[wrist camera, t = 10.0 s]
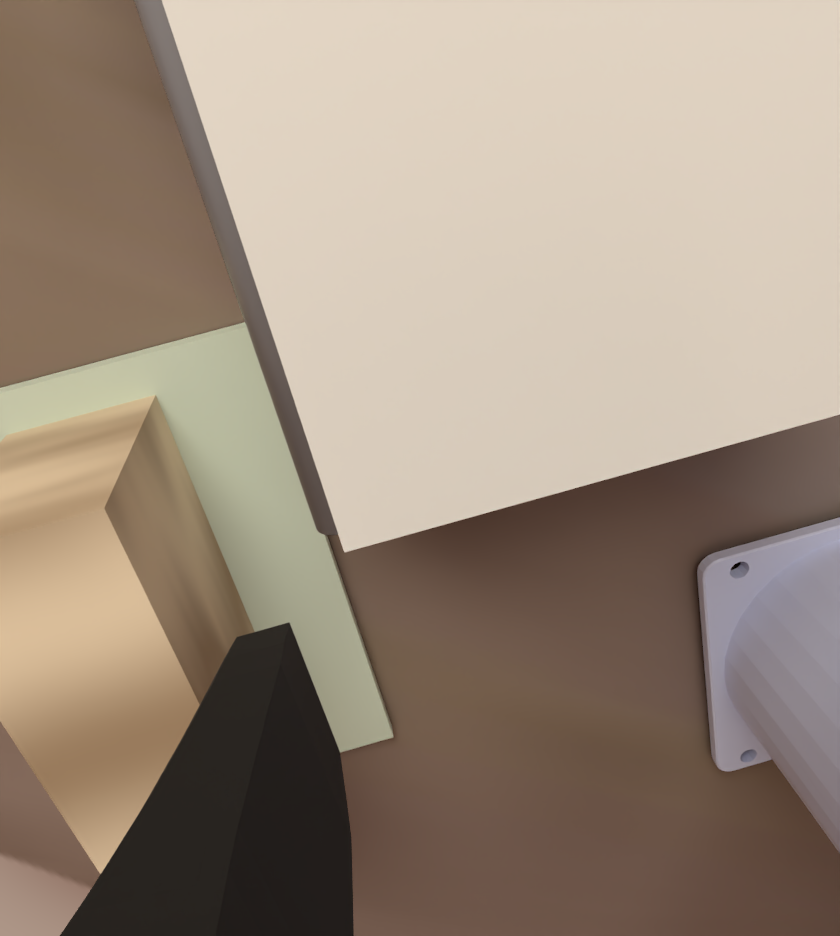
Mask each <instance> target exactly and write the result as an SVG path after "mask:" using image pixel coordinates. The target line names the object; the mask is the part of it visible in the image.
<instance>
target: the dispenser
mask: <svg viewBox="0 0 840 936" xmlns="http://www.w3.org/2000/svg"><path fill="white" fill-rule="evenodd" d="M134 2H135V5H136V8H137V10H138V13H139V16H140V19H141V22H142V25H143V28H144V31H145V34H146V37H147V39H148V42H149V45H150V48H151V51H152V54H153V57H154V60H155V63H156V66H157V68H158V71H159V74H160V77H161V80H162V83H163V86H164V89H165V92H166V95H167V97H168V100H169V103H170V106H171V109H172V112H173V115H174V118H175V121H176V124H177V126H178V129H179V132H180V135H181V138H182V141H183V144H184V147H185V150H186V153H187V155H188V158H189V161H190V164H191V167H192V170H193V173H194V176H195V179H196V182H197V184H198V187H199V190H200V193H201V196H202V199H203V202H204V205H205V208H206V211H207V213H208V216H209V219H210V222H211V225H212V228H213V231H214V234H215V237H216V240H217V242H218V245H219V248H220V251H221V254H222V257H223V260H224V263H225V266H226V269H227V271H228V274H229V277H230V280H231V283H232V286H233V289H234V292H235V295H236V298H237V300H238V303H239V306H240V309H241V312H242V315H243V318H244V321H245V324H246V327H247V329H248V332H249V335H250V338H251V341H252V344H253V347H254V350H255V353H256V356H257V358H258V361H259V364H260V367H261V370H262V373H263V376H264V379H265V382H266V384H267V387H268V390H269V393H270V396H271V399H272V402H273V405H274V408H275V411H276V413H277V416H278V419H279V422H280V425H281V428H282V431H283V434H284V437H285V440H286V442H287V445H288V448H289V451H290V454H291V457H292V460H293V463H294V466H295V469H296V471H297V474H298V477H299V480H300V483H301V486H302V489H303V492H304V495H305V498H306V500H307V503H308V506H309V509H310V512H311V515H312V518H313V521H314V524H315V527H316V529H317V531H318V532H319V533H321V534H324V535H337V534H338V535H339V538H340V541H341V544H342V547H343V550H344V552H348V551H352V550H355V549H359V548H362V547H366V546H369V545H373V544H377V543H380V542H384V541H387V540H391V539H395V538H398V537H402V536H405V535H409V534H413V533H416V532H420V531H423V530H427V529H431V528H434V527H438V526H441V525H445V524H448V523H452V522H456V521H459V520H463V519H466V518H470V517H474V516H477V515H481V514H484V513H488V512H492V511H495V510H499V509H502V508H506V507H509V506H513V505H517V504H520V503H524V502H527V501H531V500H535V499H538V498H542V497H545V496H549V495H553V494H556V493H560V492H563V491H567V490H570V489H574V488H578V487H581V486H585V485H588V484H592V483H596V482H599V481H603V480H606V479H610V478H614V477H617V476H621V475H624V474H628V473H632V472H635V471H639V470H642V469H646V468H649V467H653V466H657V465H660V464H664V463H667V462H671V461H675V460H678V459H682V458H685V457H689V456H693V455H696V454H700V453H703V452H707V451H710V450H714V449H718V448H721V447H725V446H728V445H732V444H736V443H739V442H743V441H746V440H750V439H754V438H757V437H761V436H764V435H768V434H771V433H775V432H779V431H782V430H786V429H789V428H793V427H797V426H800V425H804V424H807V423H811V422H815V421H818V420H822V419H825V418H829V417H832V416H836V415H840V0H134Z"/></svg>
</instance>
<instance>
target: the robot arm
mask: <svg viewBox="0 0 840 936" xmlns="http://www.w3.org/2000/svg"><path fill="white" fill-rule="evenodd" d="M738 562H741V564H740V565H739V566H738V567H737V568H736V569H734V570H731V568H732V567H733V565H734V564H736V563H738ZM697 579H698V591H699V604H700V616H701V629H702V641H703V654H704V666H705V679H706V692H707V704H708V717H709V729H710V742H711V754H712V758H713V761H714V762H715V764H716V766H717V767H718V768H719V769H720V770H722V771H734V770H738V769H741V768H745V767H748V766H752V765H755V764H758V763H762V762H765V761H769V760H773V761H774V763H775V764H776V765H777V767H778V768H779V770H780V771H781V772H782V774H783V775H784V777H785V778H786V779H787V781H788V782H789V783H790V785H791V786H792V788H793V789H794V790H795V792H796V793H797V795H798V796H799V797H800V799H801V800H802V802H803V803H804V804H805V806H806V807H807V809H808V810H809V811H810V813H811V814H812V816H813V817H814V818H815V820H816V821H817V823H818V824H819V825H820V827H821V828H822V829H823V831H824V832H825V834H826V835H827V836H828V838H829V839H830V841H831V842H832V843H833V845H834V846H835V848H836V849H837V850H838V852H839V853H840V517H839V518H835V519H832V520H828V521H825V522H821V523H818V524H814V525H811V526H807V527H804V528H800V529H796V530H793V531H789V532H786V533H782V534H779V535H775V536H772V537H768V538H765V539H761V540H758V541H754V542H750V543H747V544H743V545H740V546H736V547H733V548H729V549H726V550H722V551H719V552H715V553H712V554H710V555H708V556H706V557H705V558H704V559H703V560H702V561H701V563H700V564H699V566H698V570H697ZM60 936H354V935H353V888H352V849H351V832H350V824H349V816H348V808H347V800H346V793H345V786H344V779H343V772H342V765H341V757H340V751H339V748H338V746H337V743H336V741H335V738H334V735H333V733H332V730H331V728H330V725H329V723H328V720H327V717H326V715H325V712H324V710H323V707H322V705H321V702H320V699H319V697H318V694H317V692H316V689H315V687H314V684H313V682H312V679H311V676H310V674H309V671H308V669H307V666H306V664H305V661H304V658H303V656H302V653H301V651H300V648H299V646H298V643H297V640H296V638H295V635H294V633H293V630H292V628H291V625H290V622H289V623H285V624H282V625H278V626H274V627H271V628H267V629H264V630H260V631H257V632H253V633H249V634H246V635H242V636H239V637H236V639H235V641H234V642H233V644H232V646H231V647H230V649H229V651H228V653H227V655H226V656H225V658H224V660H223V662H222V664H221V666H220V668H219V669H218V671H217V673H216V675H215V677H214V679H213V681H212V683H211V685H210V687H209V689H208V690H207V692H206V694H205V696H204V698H203V700H202V702H201V704H200V706H199V707H198V709H197V711H196V713H195V715H194V717H193V719H192V720H191V722H190V724H189V726H188V728H187V730H186V732H185V733H184V735H183V737H182V739H181V741H180V743H179V744H178V746H177V748H176V750H175V751H174V753H173V755H172V757H171V758H170V760H169V762H168V764H167V765H166V767H165V769H164V771H163V773H162V774H161V776H160V778H159V780H158V781H157V783H156V785H155V787H154V788H153V790H152V792H151V794H150V795H149V797H148V799H147V801H146V802H145V804H144V806H143V807H142V809H141V811H140V812H139V814H138V816H137V817H136V819H135V820H134V822H133V824H132V825H131V827H130V828H129V830H128V832H127V833H126V835H125V836H124V838H123V840H122V841H121V843H120V844H119V846H118V848H117V849H116V851H115V852H114V854H113V856H112V857H111V859H110V860H109V862H108V863H107V865H106V867H105V868H104V870H103V871H102V873H101V875H100V876H99V878H98V879H97V881H96V883H95V884H94V886H93V887H92V889H91V890H90V892H89V894H88V895H87V897H86V898H85V900H84V901H83V903H82V904H81V906H80V907H79V908H78V910H77V912H76V913H75V915H74V916H73V917H72V919H71V920H70V922H69V923H68V925H67V926H66V928H65V929H64V931H63V932H62V934H61V935H60Z"/></svg>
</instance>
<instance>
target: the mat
mask: <svg viewBox="0 0 840 936" xmlns="http://www.w3.org/2000/svg"><path fill="white" fill-rule="evenodd" d="M153 395H156V397H157V399H158V402H159V404H160V406H161V409H162V411H163V414H164V416H165V418H166V421H167V423H168V425H169V428H170V430H171V433H172V435H173V437H174V440H175V442H176V445H177V447H178V449H179V452H180V454H181V457H182V459H183V461H184V464H185V466H186V469H187V471H188V473H189V476H190V478H191V481H192V483H193V485H194V488H195V490H196V493H197V495H198V497H199V500H200V502H201V505H202V507H203V509H204V512H205V514H206V516H207V519H208V521H209V524H210V526H211V528H212V531H213V533H214V536H215V538H216V540H217V543H218V545H219V548H220V550H221V552H222V555H223V557H224V560H225V562H226V564H227V567H228V569H229V572H230V574H231V576H232V579H233V581H234V584H235V586H236V588H237V591H238V593H239V596H240V598H241V600H242V603H243V605H244V607H245V610H246V612H247V615H248V617H249V619H250V622H251V624H252V627H253V629H254V631H255V632H257V631H260V630H264V629H267V628H271V627H274V626H278V625H282V624H285V623H289V622H290V625H291V628H292V630H293V633H294V635H295V638H296V640H297V643H298V646H299V648H300V651H301V653H302V656H303V658H304V661H305V664H306V666H307V669H308V671H309V674H310V676H311V679H312V682H313V684H314V687H315V689H316V692H317V694H318V697H319V699H320V702H321V705H322V707H323V710H324V712H325V715H326V717H327V720H328V723H329V725H330V728H331V730H332V733H333V735H334V738H335V741H336V743H337V746H338V748H339V751H340V752H344V751H347V750H351V749H354V748H358V747H361V746H365V745H368V744H372V743H375V742H379V741H382V740H386V739H389V738H393V730H392V725H391V722H390V719H389V717H388V714H387V711H386V708H385V705H384V702H383V699H382V696H381V693H380V690H379V687H378V684H377V681H376V678H375V675H374V672H373V669H372V666H371V663H370V660H369V657H368V655H367V652H366V649H365V646H364V643H363V640H362V637H361V634H360V631H359V628H358V625H357V622H356V619H355V616H354V613H353V610H352V607H351V604H350V601H349V598H348V596H347V593H346V590H345V587H344V584H343V581H342V578H341V575H340V572H339V569H338V566H337V563H336V560H335V557H334V554H333V551H332V548H331V545H330V542H329V539H328V536H327V535H324V534H321V533H319V532H318V531H317V529H316V527H315V524H314V521H313V518H312V515H311V512H310V509H309V506H308V503H307V500H306V498H305V495H304V492H303V489H302V486H301V483H300V480H299V477H298V474H297V471H296V469H295V466H294V463H293V460H292V457H291V454H290V451H289V448H288V445H287V442H286V440H285V437H284V434H283V431H282V428H281V425H280V422H279V419H278V416H277V413H276V411H275V408H274V405H273V402H272V399H271V396H270V393H269V390H268V387H267V384H266V382H265V379H264V376H263V373H262V370H261V367H260V364H259V361H258V358H257V356H256V353H255V350H254V347H253V344H252V341H251V338H250V335H249V332H248V329H247V327H246V324H245V322H244V323H240V324H237V325H233V326H229V327H226V328H222V329H218V330H214V331H211V332H207V333H203V334H199V335H196V336H192V337H188V338H185V339H181V340H177V341H173V342H170V343H166V344H162V345H159V346H155V347H151V348H147V349H144V350H140V351H136V352H133V353H129V354H125V355H121V356H118V357H114V358H110V359H107V360H103V361H99V362H95V363H92V364H88V365H84V366H81V367H77V368H73V369H69V370H66V371H62V372H58V373H54V374H51V375H47V376H43V377H40V378H36V379H32V380H28V381H25V382H21V383H17V384H14V385H10V386H6V387H2V388H0V442H1V441H2V440H3V439H4V437H5V436H6V435H9V434H12V433H16V432H20V431H23V430H27V429H31V428H34V427H38V426H42V425H46V424H49V423H53V422H57V421H60V420H64V419H68V418H72V417H75V416H79V415H83V414H86V413H90V412H94V411H97V410H101V409H105V408H109V407H112V406H116V405H120V404H123V403H127V402H131V401H134V400H138V399H142V398H146V397H149V396H153Z"/></svg>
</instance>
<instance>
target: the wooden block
mask: <svg viewBox="0 0 840 936" xmlns="http://www.w3.org/2000/svg"><path fill="white" fill-rule="evenodd" d="M253 632H255V631H254V629H253V627H252V624H251V622H250V619H249V617H248V615H247V612H246V610H245V607H244V605H243V603H242V600H241V598H240V596H239V593H238V591H237V588H236V586H235V584H234V581H233V579H232V576H231V574H230V572H229V569H228V567H227V564H226V562H225V560H224V557H223V555H222V552H221V550H220V548H219V545H218V543H217V540H216V538H215V536H214V533H213V531H212V528H211V526H210V524H209V521H208V519H207V516H206V514H205V512H204V509H203V507H202V505H201V502H200V500H199V497H198V495H197V493H196V490H195V488H194V485H193V483H192V481H191V478H190V476H189V473H188V471H187V469H186V466H185V464H184V461H183V459H182V457H181V454H180V452H179V449H178V447H177V445H176V442H175V440H174V437H173V435H172V433H171V430H170V428H169V425H168V423H167V421H166V418H165V416H164V414H163V411H162V409H161V406H160V404H159V402H158V399H157V397H156V395H153V396H149V397H146V398H142V399H138V400H134V401H131V402H127V403H123V404H120V405H116V406H112V407H109V408H105V409H101V410H97V411H94V412H90V413H86V414H83V415H79V416H75V417H72V418H68V419H64V420H60V421H57V422H53V423H49V424H46V425H42V426H38V427H34V428H31V429H27V430H23V431H20V432H16V433H12V434H9V435H6V436H5V437H4V439H3V440H2V441H1V442H0V721H1V723H2V724H3V726H4V727H5V729H6V730H7V732H8V734H9V735H10V737H11V738H12V740H13V741H14V743H15V744H16V746H17V747H18V749H19V750H20V752H21V753H22V755H23V756H24V758H25V759H26V761H27V763H28V764H29V766H30V767H31V769H32V770H33V772H34V773H35V775H36V776H37V778H38V779H39V781H40V782H41V784H42V785H43V787H44V789H45V790H46V792H47V793H48V795H49V796H50V798H51V799H52V801H53V802H54V804H55V805H56V807H57V808H58V810H59V811H60V813H61V814H62V816H63V818H64V819H65V821H66V822H67V824H68V825H69V827H70V828H71V830H72V831H73V833H74V834H75V836H76V837H77V839H78V840H79V842H80V844H81V845H82V847H83V848H84V850H85V851H86V853H87V854H88V856H89V857H90V859H91V860H92V862H93V863H94V865H95V866H96V868H97V870H98V871H99V873H100V874H101V873H102V871H103V870H104V868H105V867H106V865H107V863H108V862H109V860H110V859H111V857H112V856H113V854H114V852H115V851H116V849H117V848H118V846H119V844H120V843H121V841H122V840H123V838H124V836H125V835H126V833H127V832H128V830H129V828H130V827H131V825H132V824H133V822H134V820H135V819H136V817H137V816H138V814H139V812H140V811H141V809H142V807H143V806H144V804H145V802H146V801H147V799H148V797H149V795H150V794H151V792H152V790H153V788H154V787H155V785H156V783H157V781H158V780H159V778H160V776H161V774H162V773H163V771H164V769H165V767H166V765H167V764H168V762H169V760H170V758H171V757H172V755H173V753H174V751H175V750H176V748H177V746H178V744H179V743H180V741H181V739H182V737H183V735H184V733H185V732H186V730H187V728H188V726H189V724H190V722H191V720H192V719H193V717H194V715H195V713H196V711H197V709H198V707H199V706H200V704H201V702H202V700H203V698H204V696H205V694H206V692H207V690H208V689H209V687H210V685H211V683H212V681H213V679H214V677H215V675H216V673H217V671H218V669H219V668H220V666H221V664H222V662H223V660H224V658H225V656H226V655H227V653H228V651H229V649H230V647H231V646H232V644H233V642H234V641H235V639H236V637H239V636H242V635H246V634H249V633H253Z"/></svg>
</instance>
